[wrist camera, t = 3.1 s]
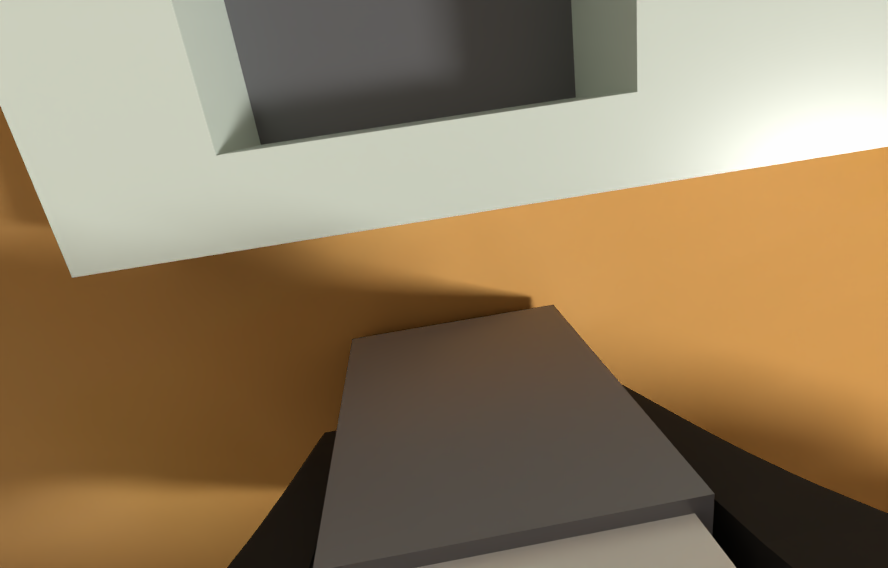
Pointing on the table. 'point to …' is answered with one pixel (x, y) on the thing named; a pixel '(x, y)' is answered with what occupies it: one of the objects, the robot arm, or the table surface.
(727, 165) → the power strip
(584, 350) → the plug
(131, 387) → the table surface
